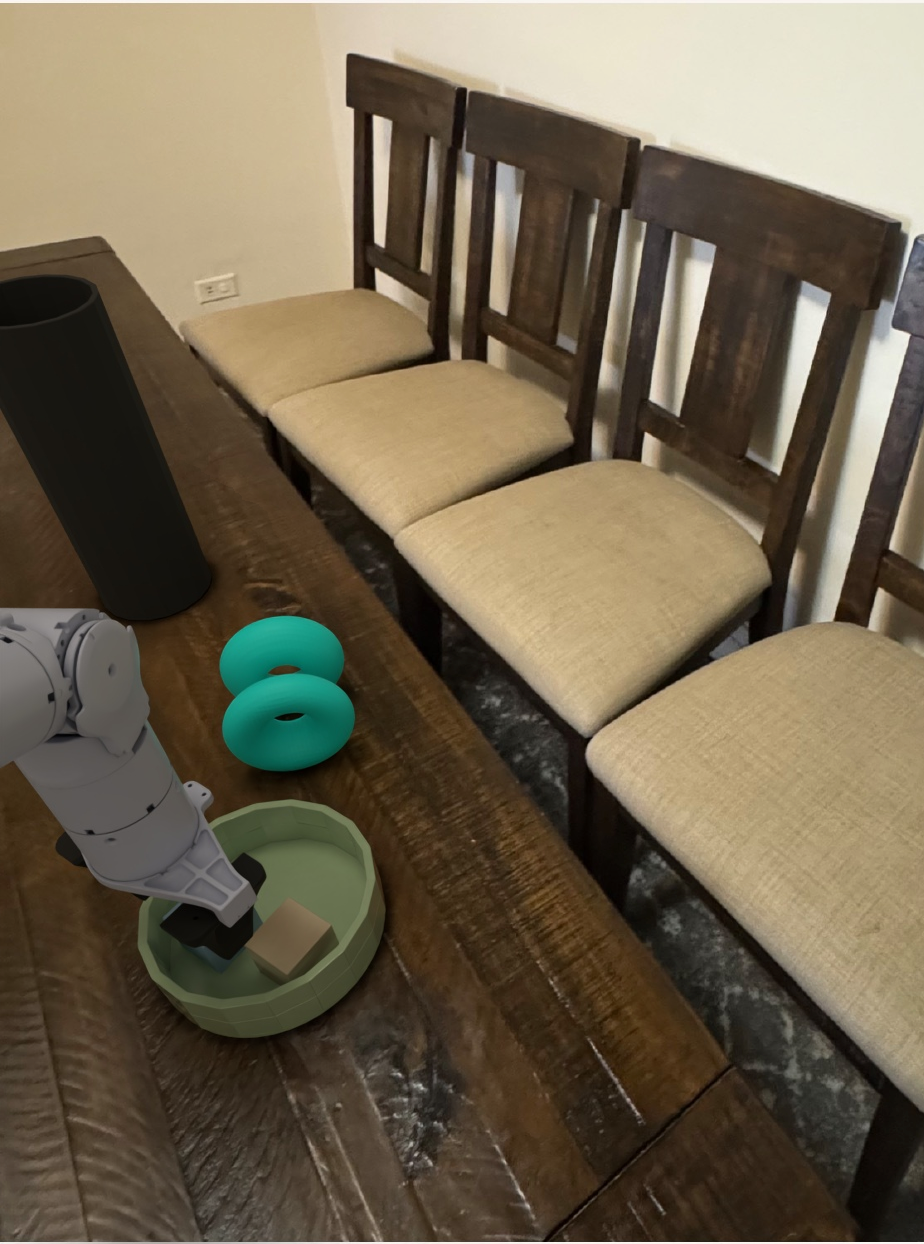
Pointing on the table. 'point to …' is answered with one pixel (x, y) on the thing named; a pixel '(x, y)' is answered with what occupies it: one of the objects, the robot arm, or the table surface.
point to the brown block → (291, 942)
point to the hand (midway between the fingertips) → (195, 915)
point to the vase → (95, 447)
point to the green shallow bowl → (295, 867)
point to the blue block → (211, 957)
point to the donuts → (285, 694)
